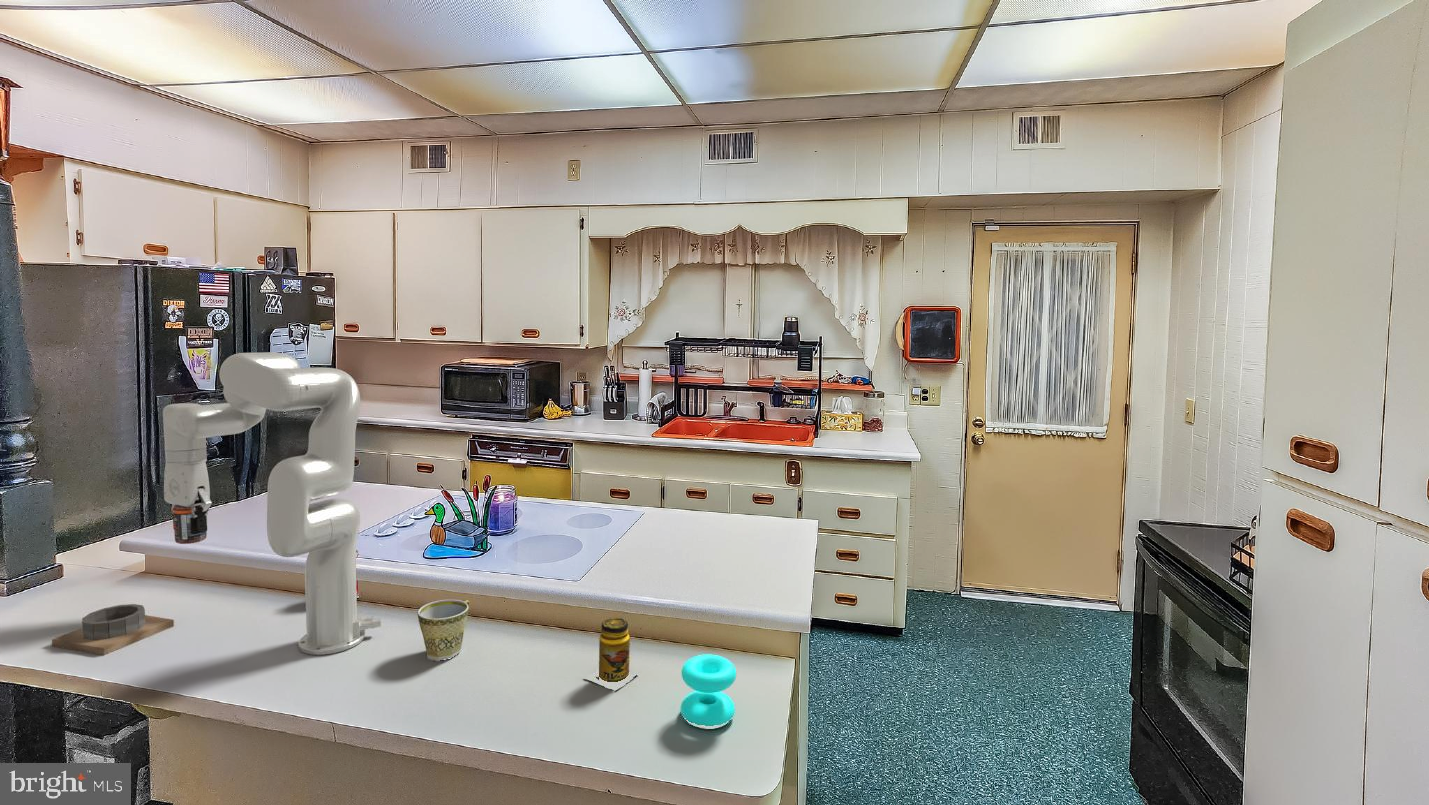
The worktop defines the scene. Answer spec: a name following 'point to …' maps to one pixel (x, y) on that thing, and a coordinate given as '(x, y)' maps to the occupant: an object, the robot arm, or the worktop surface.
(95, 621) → the ring holder
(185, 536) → the supplement bottle
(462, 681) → the worktop surface
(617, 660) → the condiment
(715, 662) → the donuts
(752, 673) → the worktop surface
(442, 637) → the ceramic cup
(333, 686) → the worktop surface
